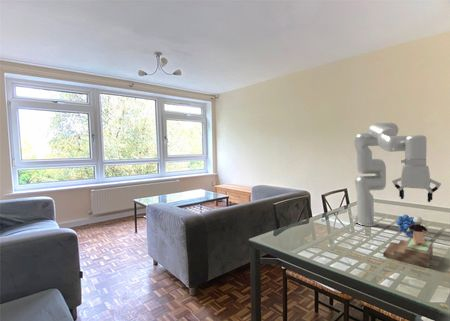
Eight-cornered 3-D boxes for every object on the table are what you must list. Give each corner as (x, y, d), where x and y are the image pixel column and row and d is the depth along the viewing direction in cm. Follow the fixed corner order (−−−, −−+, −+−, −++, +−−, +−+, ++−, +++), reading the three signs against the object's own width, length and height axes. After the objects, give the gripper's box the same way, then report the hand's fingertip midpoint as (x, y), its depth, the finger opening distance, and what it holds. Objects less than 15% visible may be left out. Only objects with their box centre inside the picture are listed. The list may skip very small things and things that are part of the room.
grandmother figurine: (426, 243, 108) (426, 216, 107) (430, 247, 104) (430, 218, 104) (406, 241, 111) (406, 214, 110) (408, 244, 108) (408, 217, 107)
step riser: (383, 256, 111) (383, 243, 110) (391, 245, 122) (391, 233, 121) (428, 267, 99) (428, 253, 99) (432, 254, 110) (432, 241, 110)
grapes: (393, 235, 135) (393, 214, 135) (398, 232, 139) (397, 212, 139) (419, 241, 126) (419, 218, 125) (423, 237, 130) (423, 216, 130)
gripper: (390, 163, 111) (390, 199, 112) (440, 163, 99) (440, 204, 100) (394, 161, 116) (394, 196, 117) (441, 162, 104) (441, 201, 105)
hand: (415, 200), depth 109 cm, fingers open, 9 cm apart
